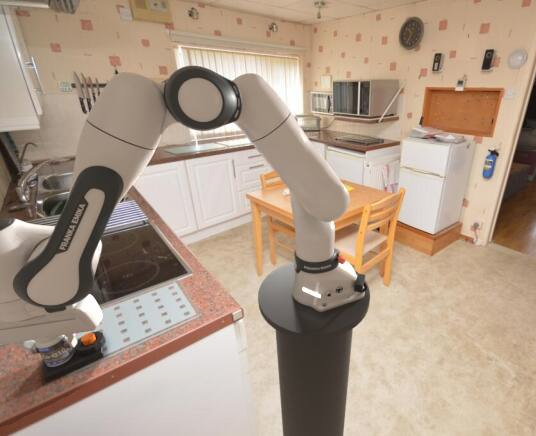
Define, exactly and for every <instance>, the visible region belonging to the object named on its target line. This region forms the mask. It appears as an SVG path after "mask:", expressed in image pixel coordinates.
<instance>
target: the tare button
mask: <svg viewBox="0 0 536 436" xmlns="http://www.w3.org/2000/svg"><path fill="white" fill-rule="evenodd" d="M82 336H83V337H82ZM82 336H81V337H82V338H81V337H80V338H81V341H82V343H83V345H84V346H88V345H90V344H92V343H94V342H95V341H96V337H95V335H94V333H91V332H87V333H85V334H84V335H82Z"/></svg>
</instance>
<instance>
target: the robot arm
mask: <svg viewBox="0 0 536 436" xmlns="http://www.w3.org/2000/svg"><path fill="white" fill-rule="evenodd" d="M175 124H181V125H183V126H184V127H186V128H188V129H190V130H193V131H197V132H198V131H199V132H208V131H213V130H216V129H219V128H221V127H224V126H226V125H229V124H234V125H235V126H237V127H238V129H240V130H241V132H242V133H243V134H244V135H245V137H246V138H247V139H248V141H249V142H250V143H251V144H252V145H253V147H254V148H255V149H256V150H257V152H258V153H259V154H260V155H261V157H262V158H263V159H264V160H265V161H266V163H267V165H269V167H270V168H271V169H272V170H273V171H274V173H275V174H276V175H277V176H278V178H279V180H281V182H282V183H283V184H284V185H285V186H286V187H287V189H288V191H289V192H288V193H289V199H290V200H289V201H290V206H291V212H292V219H293V223H294V237H295V238H294V239H295V240H294V241H295V249H294V253H293V254H294V255H293V261H294V268H295V278H294V282H293V286H292V289H291V293H292V296H293V297H294V299H295V300H296V301H298V302H299V303H301V304H304V305H307V306H310V307H312V308H314V309H315V310H317V311H319V312H323V311H326V310H329V309H332V308H335V307H338V306H341V305H344V304H347V303H350V302H353V301H356V300H359V299H362V298H363V297H364V295H365V291H366V290H367V285H368V284H367V285H366V283H367V282H366V283H365V281H366V274H364V273H359V272H358V275H357V274H356V272H355V271H356V269H355V268H354V267H353V265H352V264H351V263H350V262H349V261H347V260H346V258H345V256H344V255H343V254H341V251H340V250H339V248H337V246H336V244H335V242H336V241H335V239H336V238H335V237H336V227H335V221H338V220H340V219H341V218H342V217H343V216H344V215H345V214H346V213H347V212H348V210H349V207H350V202H351V198H350V197H351V196H350V193H349V191H348V189H347V187H346V186H345V184H343V182H342V180H341V179H340V178H339V177H338V175H337V174H336V172H335V171H334V170H333V168H332V167H331V165H330V164H329V163H328V162H327V160H326V159H325V157H323V155H322V154H321V153H320V151H318V148H316V147H315V145H314V144H313V143H312V142H311V140H310V139H309V137H308V136H307V134H306V132H305V131H304V129H303V128H302V127H301V125H300V124H299V122H298V121H297V119H296V118H295V116H294V115H293V114H292V112H291V110H290V109H289V107H288V106H287V104H286V103H285V102H284V100H283V99H282V98H281V97H280V96H279V94H278V93H277V92H276V91H275V90H274V89H273V87H272V86H271V84H269V83H268V81H266V80H265V79H264V78H263V76H261V75H259V74H257V73H252V72H250V73H249V72H248V73H243V74H240V75H238V76H236V77H235V78H234V79H233V80H231V79H229V78H227V77H225V76H224V75H221V74H220V73H218V72H217V71H213V70H212V69H209V68H207V67H204V66H200V65H186V66H183V67H180V68H178V69H176V70H175V71H173V72H172V74H170V76H169V77H168V78H167V79H165V80H164V81H161V82H157V81H155V80H152V79H150V78H149V77H146V76H144V75H142V74H139V73H135V72H128V71H126V72H125V71H124V72H118V73H116V74H115V75H113V77H111V78H110V79H109V81H108V82H107V83H106V85H105V86H104V88H103V89H101V92H100V93H99V94H98V97H97V98H96V99H95V101H94V103H93V105H92V107H91V109H90V111H89V113H88V115H87V117H86V119H85V121H84V124H83V126H82V129H81V133H80V136H79V139H78V144H77V148H76V153H75V159H74V166H73V170H72V177H71V183H70V187H69V192H68V195H67V199H66V202H65V204H64V206H63V208H62V211H61V213H60V215H59V217H58V219H57V221H56V224H55V225H43V224H35V223H31V222H30V223H29V222H25V221H23V220H20V219H19V218H18V219H17V218H11V217H10V218H1V219H0V346H4V345H12V344H14V345H15V346H16V347H18V348H21V349H23V350H26V351H27V352H28V354H29V355H32V356H33V355H38V354H40V353H39V351H38V349H37V348H36V346H35V342H36V341H35V340H36V339H37V338H40V337H46V338H50V337H56V336H62V335H65V337H67V339H66V341H65V342H64V343H63V345H64V346H65V348H66V349H67V348H74V347H75V346H76V344H77V340H78V339H77V337H76V336H77V334H81V333H89V332H94V331H95V330H96V329H97V328H98V327H99V326H100V324H101V322H102V320H103V318H104V313H103V311H102V309H101V307H100V305H99V302H97V300H96V299H95V297H94V296H93V295H92V294H91V292H92V291H93V288H94V284H95V275H96V271H97V268H98V264H99V261H100V257H101V254H102V250H103V242H102V237H103V236H104V233H105V231H106V229H107V227H108V224H109V222H110V220H111V218H112V215H113V214H114V212H115V210H116V208H117V207H118V206H119V204H120V203H121V202H122V200H123V198H124V197H125V196H126V195H127V193H128V192H129V190H131V188H132V187H133V185H134V184H135V183H136V182H137V180H138V179H139V178H140V176H141V175H142V174H143V172H144V170H145V169H146V168H147V166H148V164H149V163H150V161H151V160H152V158H153V157H154V154H155V152H156V149H157V148H158V145H159V143H160V141H161V139H162V137H163V135H164V133H165V132H166V130H167V129H168V128H170V127H171V126H173V125H175Z"/></svg>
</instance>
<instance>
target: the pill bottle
mask: <svg viewBox="0 0 536 436" xmlns="http://www.w3.org/2000/svg"><path fill="white" fill-rule="evenodd" d="M66 339H67V337H65V335H62V336H56V337H50V338H46V337H40V338H37V339H36V340H34V341H35V346H36V348H37V349H38V351H39V353H38V354H40V356H41V358H42V360H43V362H44V361H45V363H46V365H47V366H49V367H55V366H59V365H61V364H63V363H65V362H67V361H68V360H69V359H70V358H71V357H72V356H73V354H74V350H73V348H67V349H66V348H65V346H64V345H63V343H64V342H65V341H66Z"/></svg>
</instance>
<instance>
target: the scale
mask: <svg viewBox="0 0 536 436" xmlns="http://www.w3.org/2000/svg"><path fill="white" fill-rule="evenodd" d="M90 333H94V335H95V337H96V341H95V342H94V343H92V344H90V345H88V346H84V345H83V343H82V341H81V338H82V337H83V336H84V335H81V336H80V338H78V339H77V344H76V346H75V347H74V348H73V350H74V354H73V356H72V357H71V358H70V359H69V360H68V361H67V362H65V363H63V364H61V365H59V366H55V367H49V366H47V365H46V363H45V361H44V360H43V371H42V379H43V381H44V382H45V383H48V382H50V381H53V380H55V379H57V378H59V377H62V376H63V375H65V374H68V373H70V372H73V371H75V370H77V369H79V368H82V367H84V366H87V365H88V364H90V363H93V362H95V361H98V360H100V359H102V358H104V357H105V354H104V345H105V343H106V341H107V339H106V336H105V334H104V333H103V332H102V331H99V330H96V331H90Z"/></svg>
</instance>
